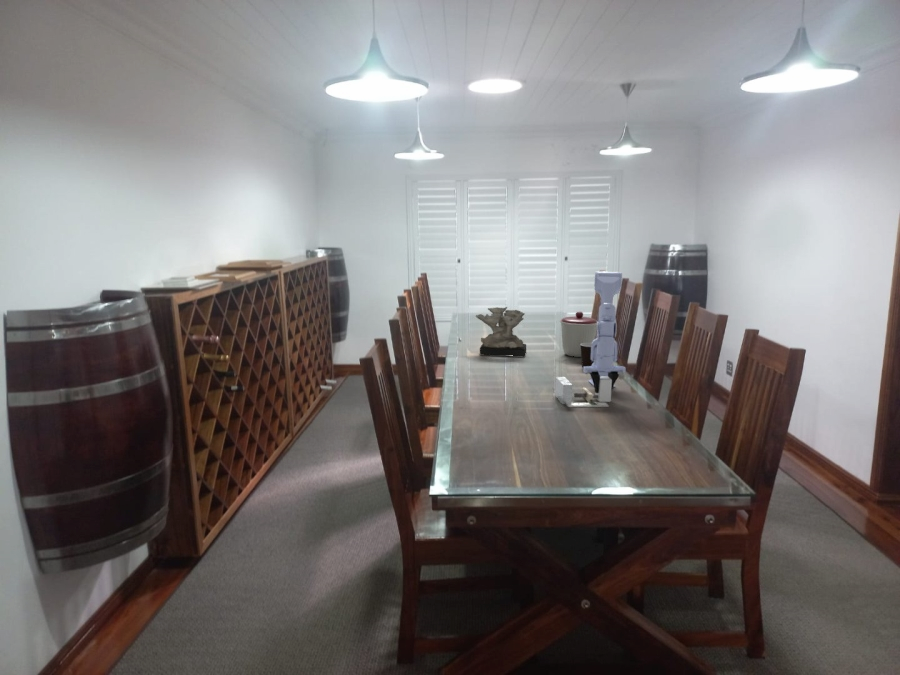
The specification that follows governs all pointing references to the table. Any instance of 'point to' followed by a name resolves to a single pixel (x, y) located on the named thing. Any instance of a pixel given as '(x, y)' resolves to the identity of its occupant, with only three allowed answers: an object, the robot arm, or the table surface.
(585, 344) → the coffee mug
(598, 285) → the robot arm
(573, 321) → the canister
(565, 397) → the frame
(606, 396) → the block
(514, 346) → the coral
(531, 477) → the table surface
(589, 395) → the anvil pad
